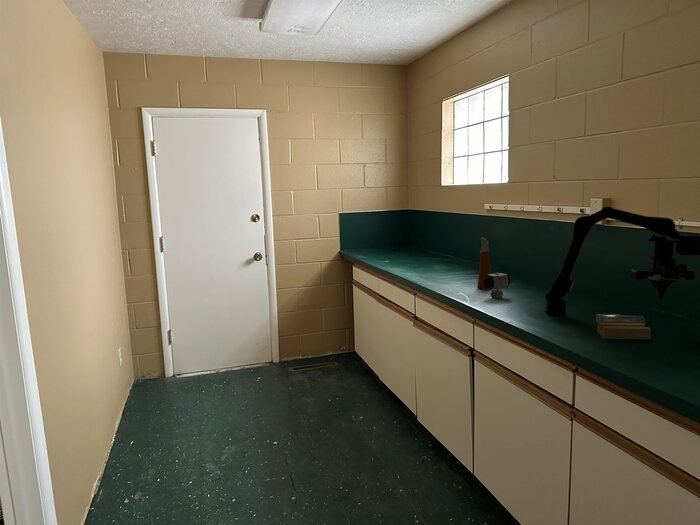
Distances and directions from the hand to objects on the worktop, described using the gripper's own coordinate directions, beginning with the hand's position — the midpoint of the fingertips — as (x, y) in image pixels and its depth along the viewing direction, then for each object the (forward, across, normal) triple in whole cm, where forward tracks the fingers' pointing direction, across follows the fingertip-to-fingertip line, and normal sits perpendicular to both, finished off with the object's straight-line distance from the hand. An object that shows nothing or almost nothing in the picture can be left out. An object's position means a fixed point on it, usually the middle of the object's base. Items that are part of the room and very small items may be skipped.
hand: (659, 298), depth 168 cm
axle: (+8, -12, 0) cm, 15 cm away
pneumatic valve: (+10, -49, +43) cm, 66 cm away
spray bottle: (+10, -53, +63) cm, 83 cm away
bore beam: (+10, -15, 0) cm, 18 cm away
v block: (+10, -16, -12) cm, 22 cm away
